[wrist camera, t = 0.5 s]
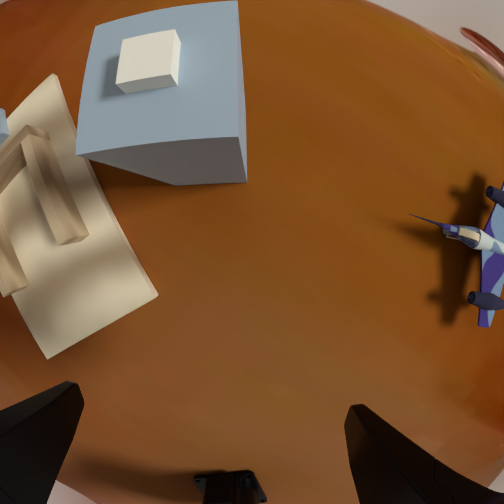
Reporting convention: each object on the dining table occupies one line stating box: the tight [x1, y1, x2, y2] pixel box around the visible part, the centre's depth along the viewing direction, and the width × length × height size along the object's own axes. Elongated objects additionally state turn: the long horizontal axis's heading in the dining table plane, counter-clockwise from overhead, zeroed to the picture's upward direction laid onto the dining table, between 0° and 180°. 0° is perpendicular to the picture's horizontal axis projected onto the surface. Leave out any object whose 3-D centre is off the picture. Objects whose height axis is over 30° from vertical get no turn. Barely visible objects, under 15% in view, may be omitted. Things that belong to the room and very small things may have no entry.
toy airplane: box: [410, 182, 504, 328], centre depth 19 cm, size 13×14×4 cm
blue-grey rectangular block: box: [75, 1, 247, 186], centre depth 13 cm, size 5×5×13 cm
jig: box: [0, 73, 158, 359], centre depth 18 cm, size 22×14×4 cm, turn 29°
